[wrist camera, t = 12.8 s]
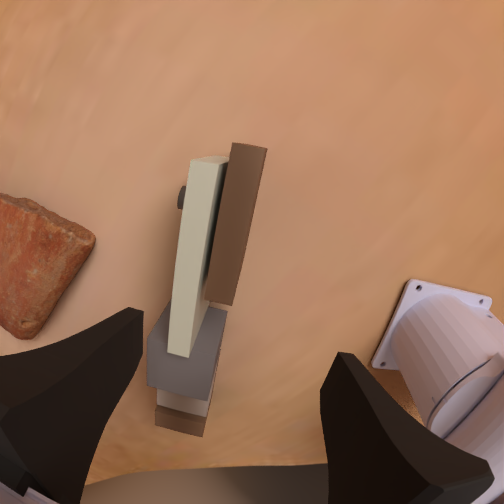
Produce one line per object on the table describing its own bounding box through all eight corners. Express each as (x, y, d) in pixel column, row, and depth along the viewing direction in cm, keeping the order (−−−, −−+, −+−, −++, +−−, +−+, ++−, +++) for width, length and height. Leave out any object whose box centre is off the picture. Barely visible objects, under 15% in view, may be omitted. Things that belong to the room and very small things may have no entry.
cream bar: (236, 158, 18) (218, 164, 12) (209, 303, 22) (188, 357, 16) (204, 152, 18) (173, 156, 12) (182, 296, 22) (153, 348, 16)
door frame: (267, 148, 18) (265, 149, 12) (213, 404, 25) (201, 456, 20) (199, 135, 18) (167, 132, 12) (167, 393, 25) (148, 442, 20)
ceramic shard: (-32, 121, 13) (90, 256, 18) (11, 120, 19) (115, 229, 24) (-80, 256, 15) (17, 364, 20) (-45, 235, 21) (42, 327, 26)
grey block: (227, 310, 21) (215, 355, 16) (218, 354, 22) (207, 401, 18) (171, 297, 21) (147, 337, 16) (167, 342, 22) (146, 385, 18)
